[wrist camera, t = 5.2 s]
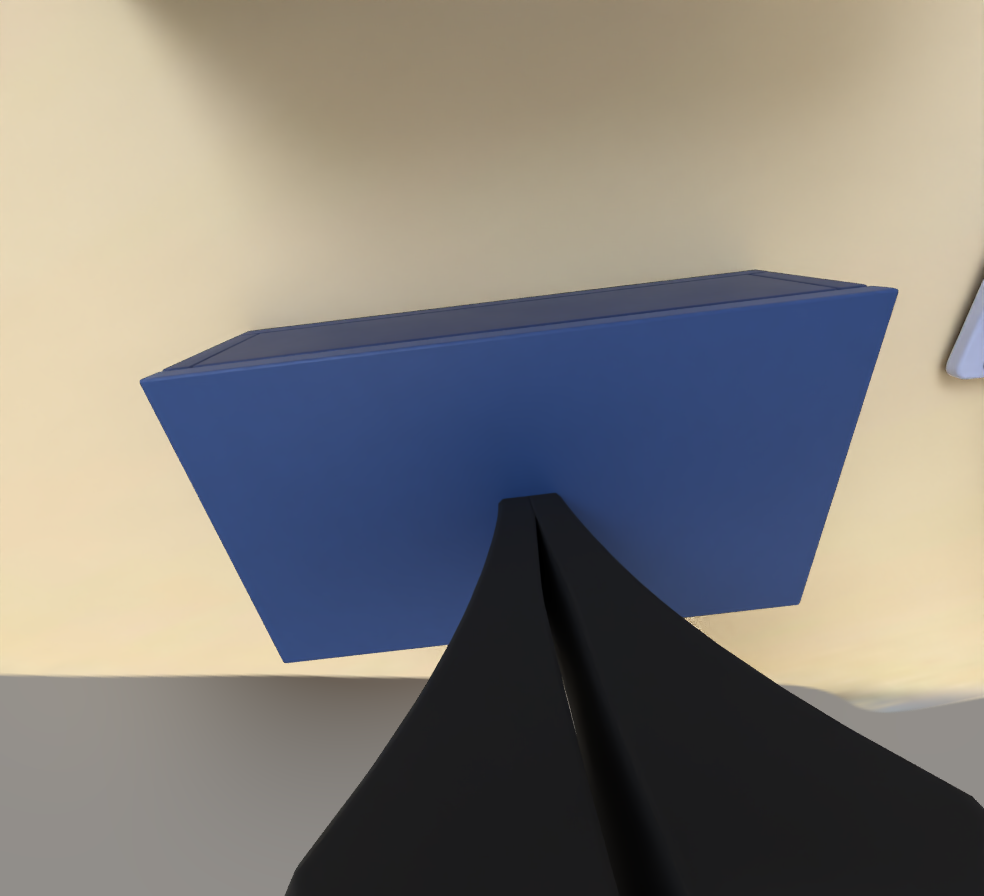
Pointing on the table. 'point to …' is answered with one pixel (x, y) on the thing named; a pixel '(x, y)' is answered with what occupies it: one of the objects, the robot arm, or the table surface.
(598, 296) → the blue case
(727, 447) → the blue case lid
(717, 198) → the table surface
